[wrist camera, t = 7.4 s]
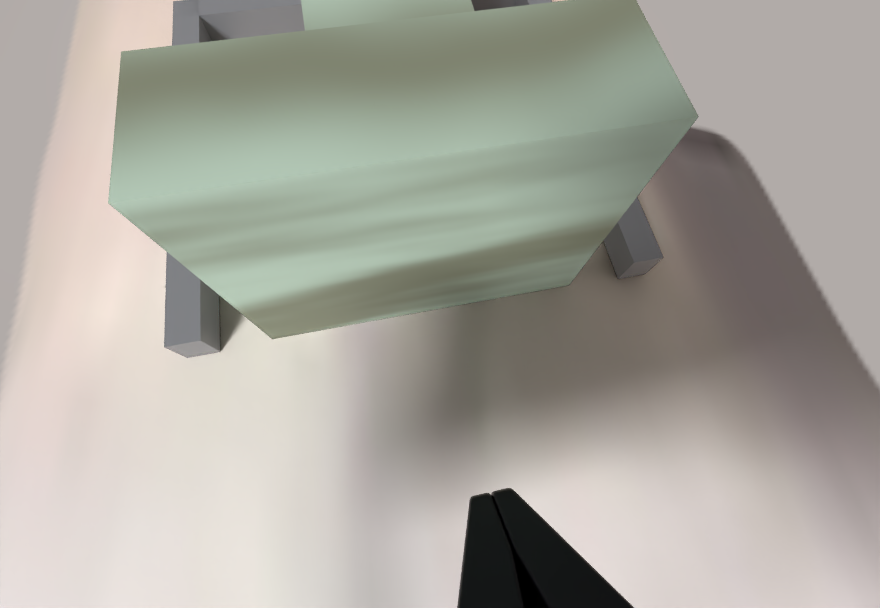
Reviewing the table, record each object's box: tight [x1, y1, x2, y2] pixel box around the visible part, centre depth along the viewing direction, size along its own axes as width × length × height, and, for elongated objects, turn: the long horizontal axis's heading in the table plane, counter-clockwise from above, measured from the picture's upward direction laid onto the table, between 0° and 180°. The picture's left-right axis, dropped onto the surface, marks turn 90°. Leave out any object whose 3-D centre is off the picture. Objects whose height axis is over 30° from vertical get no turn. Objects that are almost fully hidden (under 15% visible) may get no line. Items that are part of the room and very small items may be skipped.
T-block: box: [108, 0, 698, 339], centre depth 15 cm, size 14×12×9 cm
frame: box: [164, 0, 663, 358], centre depth 19 cm, size 18×18×2 cm
